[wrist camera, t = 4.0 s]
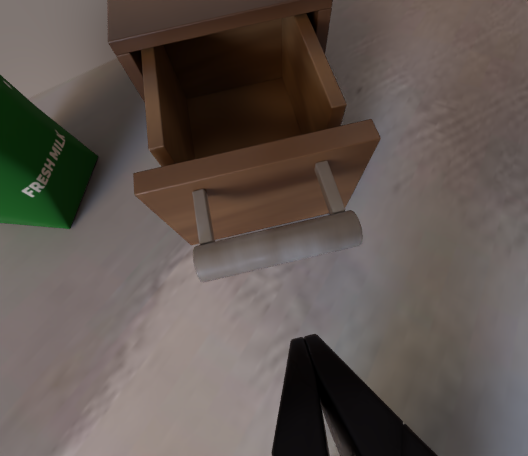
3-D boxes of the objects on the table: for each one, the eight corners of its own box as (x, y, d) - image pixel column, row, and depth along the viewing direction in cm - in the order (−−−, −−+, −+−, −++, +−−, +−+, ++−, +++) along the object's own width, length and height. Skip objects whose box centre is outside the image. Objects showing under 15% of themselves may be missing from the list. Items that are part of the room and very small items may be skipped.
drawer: (365, 266, 18) (422, 224, 10) (198, 306, 18) (138, 291, 10) (296, 78, 24) (301, -30, 17) (173, 106, 24) (124, 9, 17)
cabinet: (315, 120, 23) (334, -9, 14) (175, 152, 23) (106, 41, 14) (276, 17, 29) (273, -125, 20) (162, 42, 28) (106, -89, 19)
